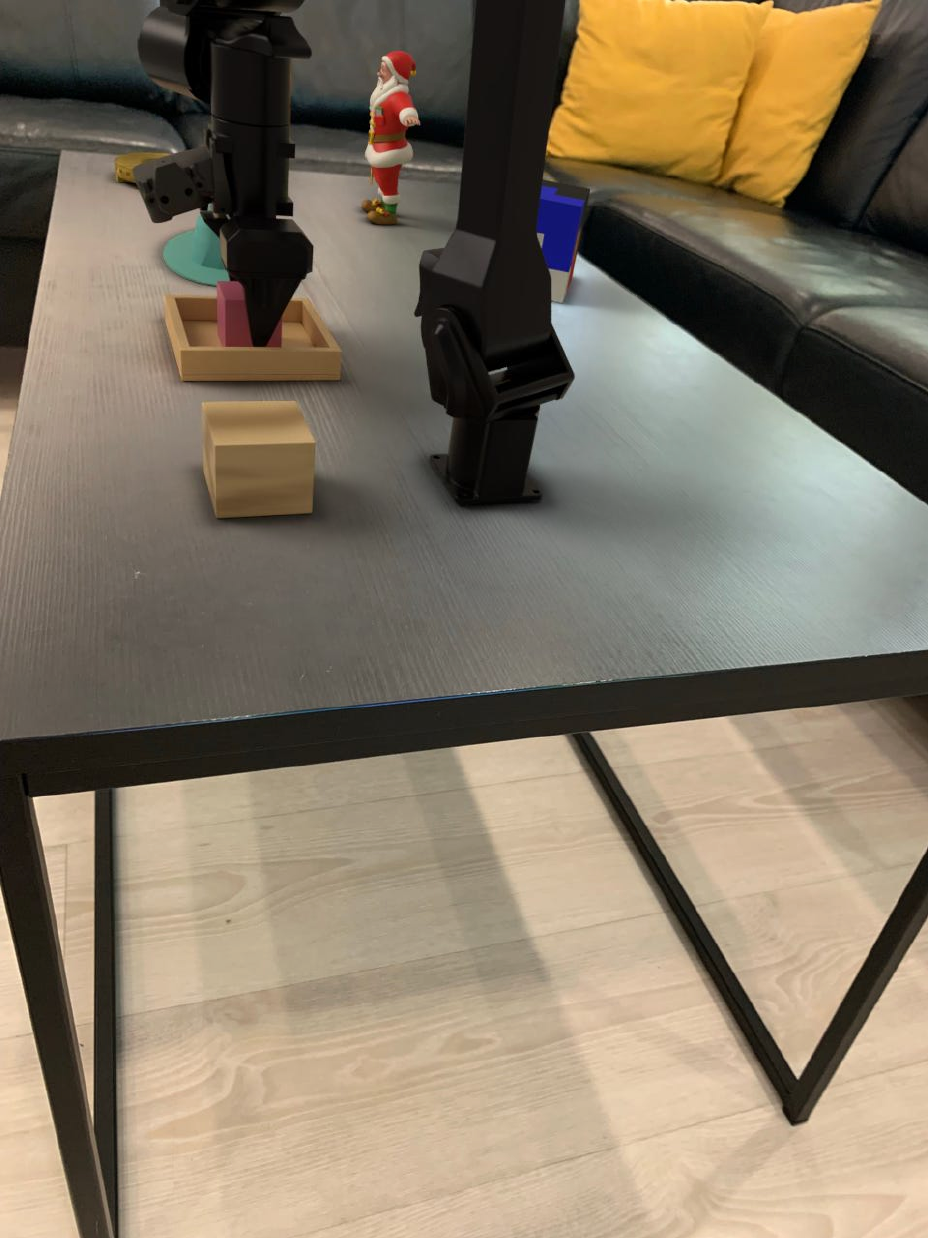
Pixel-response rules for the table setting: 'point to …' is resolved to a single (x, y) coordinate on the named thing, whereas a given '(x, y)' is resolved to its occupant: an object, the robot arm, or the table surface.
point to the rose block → (237, 318)
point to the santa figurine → (389, 134)
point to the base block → (257, 458)
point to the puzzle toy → (561, 231)
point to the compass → (132, 164)
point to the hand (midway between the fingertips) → (249, 325)
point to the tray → (206, 360)
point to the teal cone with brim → (196, 255)
